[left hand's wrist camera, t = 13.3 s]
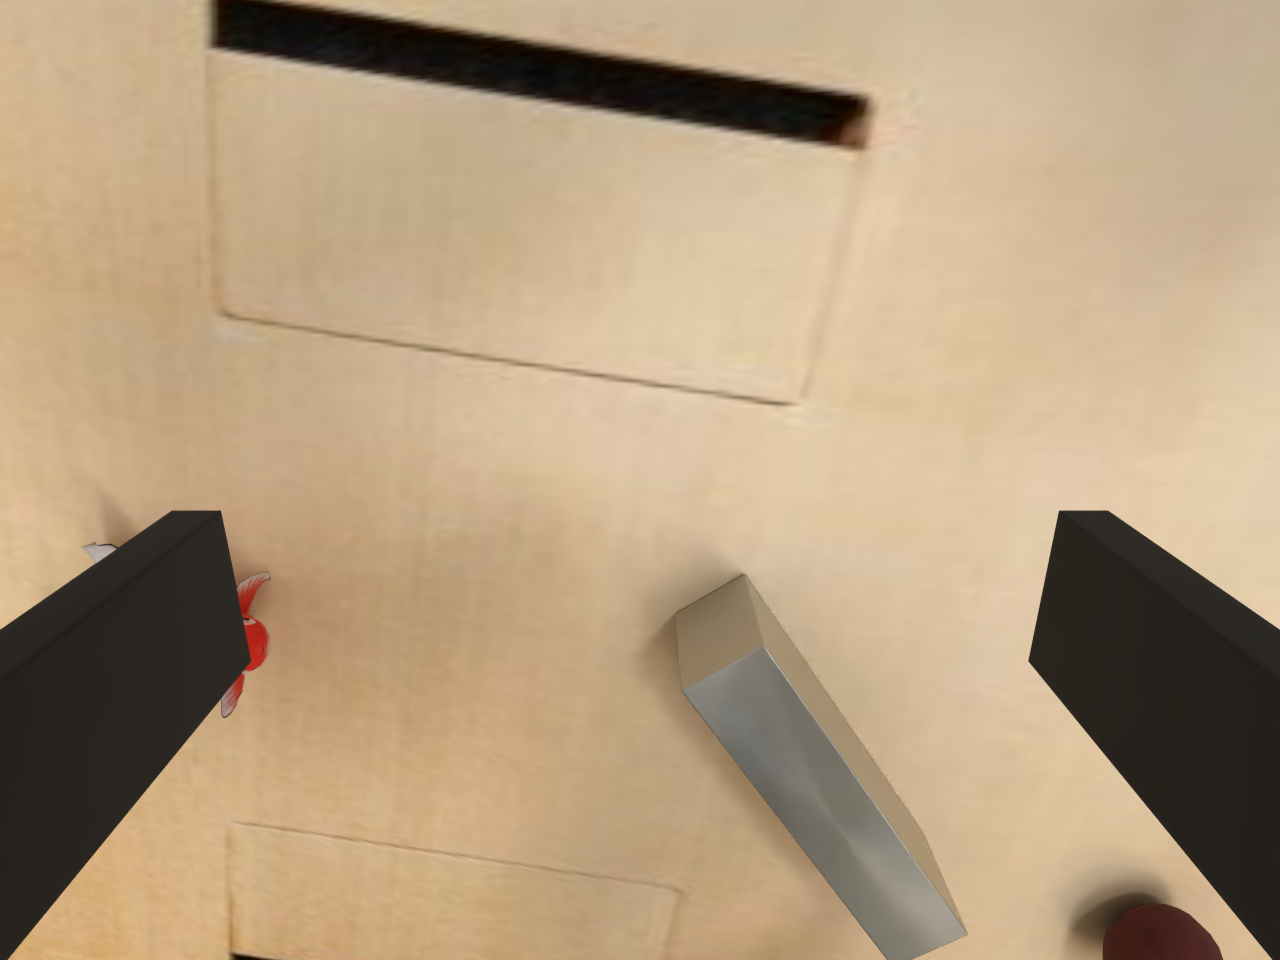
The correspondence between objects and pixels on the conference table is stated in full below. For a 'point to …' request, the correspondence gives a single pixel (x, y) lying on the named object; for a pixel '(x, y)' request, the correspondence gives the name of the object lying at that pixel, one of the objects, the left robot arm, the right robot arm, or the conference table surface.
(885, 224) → the conference table surface
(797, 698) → the bar
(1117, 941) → the dark maroon ball
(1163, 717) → the left robot arm
